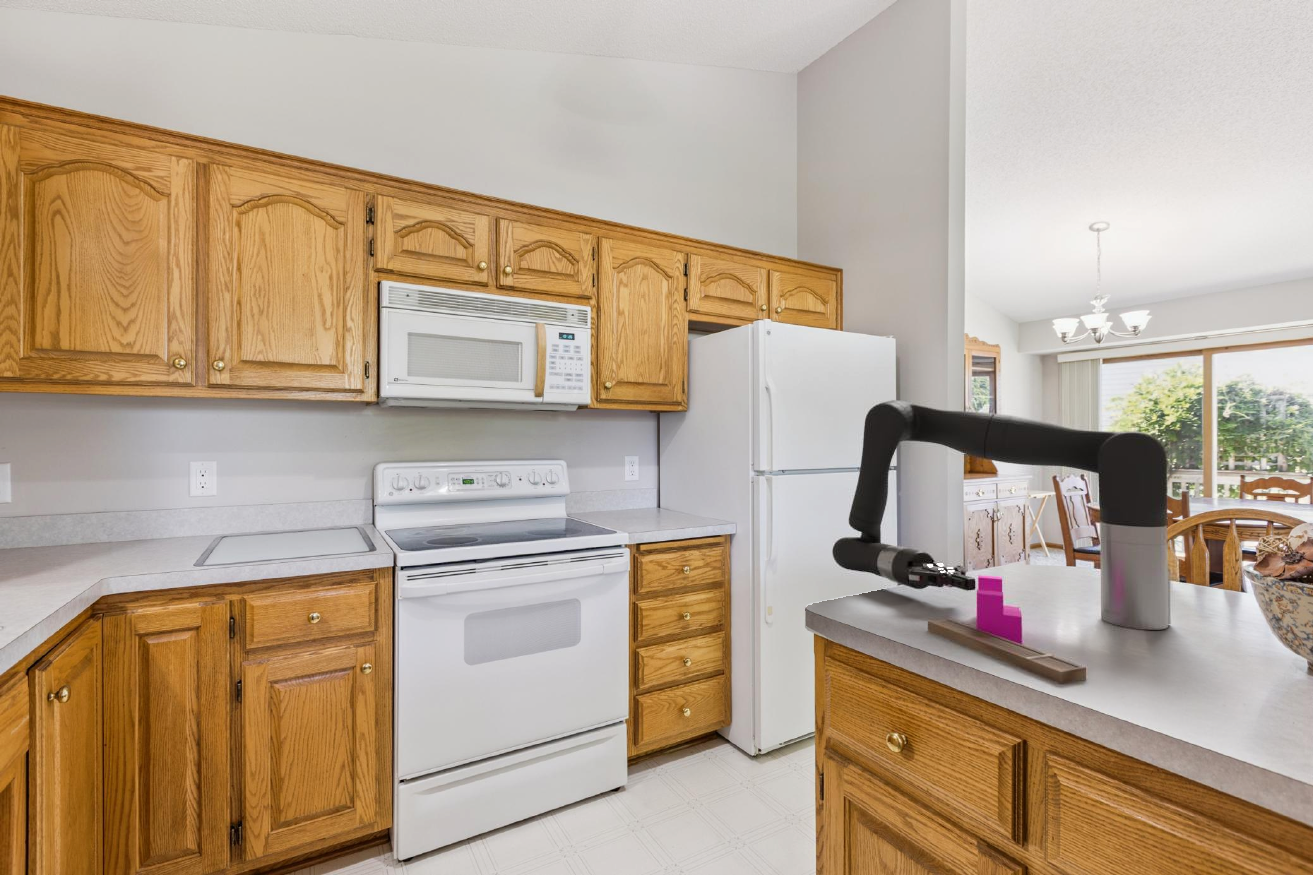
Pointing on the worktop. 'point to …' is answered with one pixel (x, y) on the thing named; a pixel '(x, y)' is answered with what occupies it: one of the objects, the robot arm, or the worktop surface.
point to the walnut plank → (1009, 651)
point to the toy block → (997, 611)
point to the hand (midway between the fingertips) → (972, 584)
